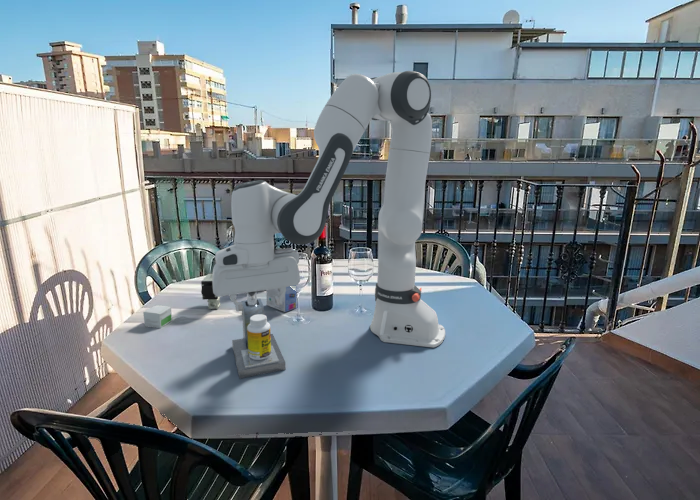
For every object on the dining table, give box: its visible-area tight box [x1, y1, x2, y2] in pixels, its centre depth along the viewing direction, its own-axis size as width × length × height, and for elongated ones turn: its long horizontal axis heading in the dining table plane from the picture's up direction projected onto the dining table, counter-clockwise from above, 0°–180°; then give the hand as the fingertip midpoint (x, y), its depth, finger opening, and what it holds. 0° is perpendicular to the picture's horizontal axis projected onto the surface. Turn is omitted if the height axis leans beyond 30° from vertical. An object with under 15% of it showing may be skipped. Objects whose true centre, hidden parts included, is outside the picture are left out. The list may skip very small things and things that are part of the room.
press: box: [231, 298, 287, 380], centre depth 96 cm, size 16×11×13 cm
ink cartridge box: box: [265, 286, 297, 313], centre depth 129 cm, size 10×6×14 cm, turn 53°
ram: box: [246, 291, 258, 306], centre depth 100 cm, size 5×5×12 cm
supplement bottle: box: [247, 314, 272, 360], centre depth 93 cm, size 6×6×10 cm
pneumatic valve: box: [200, 272, 222, 310], centre depth 127 cm, size 6×12×12 cm, turn 5°
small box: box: [142, 304, 173, 329], centre depth 116 cm, size 6×6×5 cm
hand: (259, 307), depth 91 cm, fingers open, 8 cm apart
